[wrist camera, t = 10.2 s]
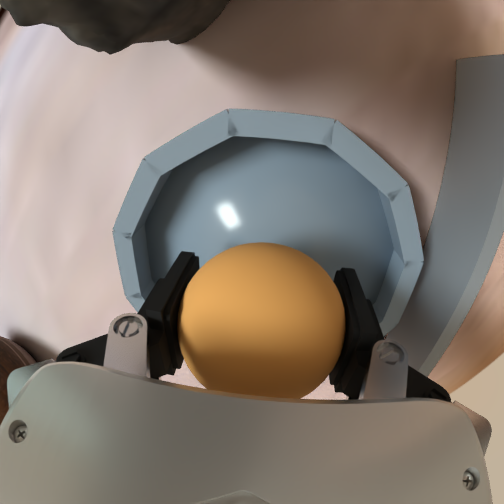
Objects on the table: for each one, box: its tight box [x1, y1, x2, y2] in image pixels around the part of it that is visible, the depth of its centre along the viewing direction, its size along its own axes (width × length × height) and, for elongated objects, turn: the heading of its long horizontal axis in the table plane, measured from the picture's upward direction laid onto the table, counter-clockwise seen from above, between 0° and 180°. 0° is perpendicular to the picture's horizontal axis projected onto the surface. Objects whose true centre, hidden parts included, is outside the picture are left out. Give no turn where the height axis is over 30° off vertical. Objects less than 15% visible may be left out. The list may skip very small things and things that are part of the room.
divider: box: [386, 54, 504, 377], centre depth 12 cm, size 24×1×4 cm, turn 176°
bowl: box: [113, 109, 424, 336], centre depth 13 cm, size 14×14×2 cm
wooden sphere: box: [0, 336, 37, 425], centre depth 18 cm, size 15×15×15 cm
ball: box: [177, 242, 346, 399], centre depth 10 cm, size 6×6×6 cm
